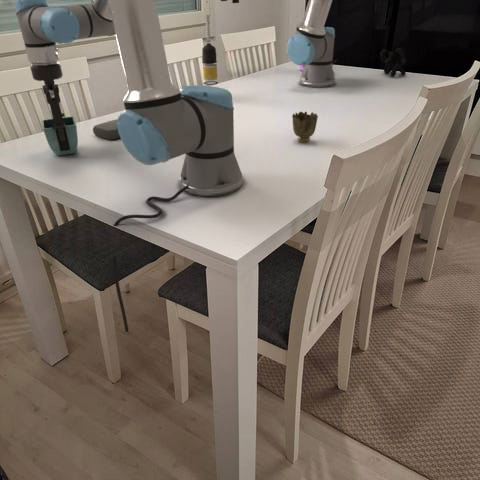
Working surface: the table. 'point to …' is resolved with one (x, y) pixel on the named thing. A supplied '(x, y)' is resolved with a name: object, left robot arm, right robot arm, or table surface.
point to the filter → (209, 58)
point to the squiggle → (393, 62)
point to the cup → (304, 125)
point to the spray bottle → (107, 130)
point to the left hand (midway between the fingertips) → (64, 145)
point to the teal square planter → (52, 136)
